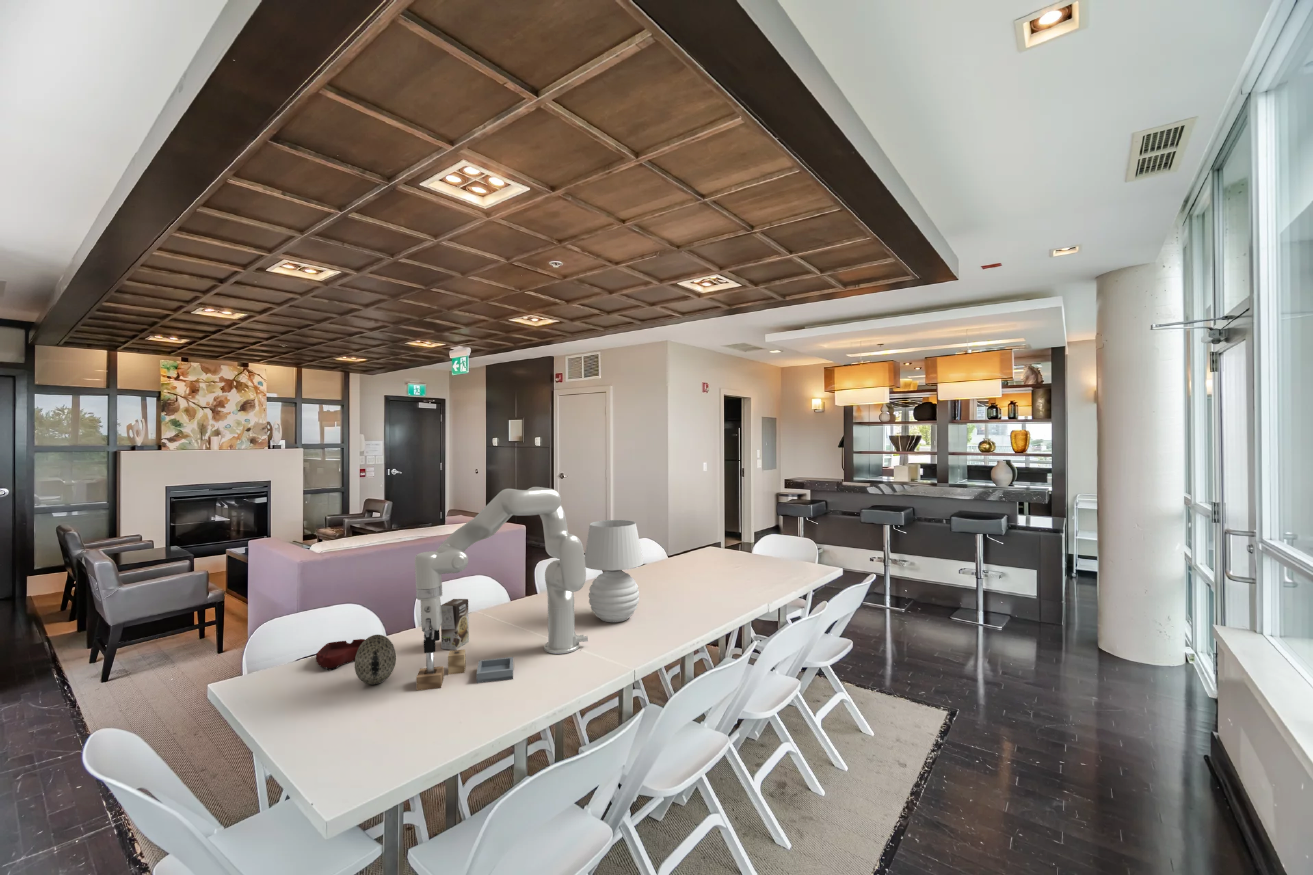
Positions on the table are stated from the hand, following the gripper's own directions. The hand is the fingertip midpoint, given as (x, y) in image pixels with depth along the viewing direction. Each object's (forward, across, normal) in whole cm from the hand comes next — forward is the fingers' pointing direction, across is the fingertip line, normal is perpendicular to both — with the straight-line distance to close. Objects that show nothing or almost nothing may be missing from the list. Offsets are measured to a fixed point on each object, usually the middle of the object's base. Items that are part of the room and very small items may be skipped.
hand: (432, 646), depth 179 cm
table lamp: (+15, +48, -65) cm, 82 cm away
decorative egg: (+12, +6, +18) cm, 22 cm away
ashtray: (+12, +30, +34) cm, 47 cm away
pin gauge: (+12, 0, +1) cm, 12 cm away
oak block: (+12, +8, -6) cm, 16 cm away
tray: (+12, +2, -18) cm, 22 cm away
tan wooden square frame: (+12, 0, +1) cm, 12 cm away
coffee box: (+12, +34, -3) cm, 36 cm away
